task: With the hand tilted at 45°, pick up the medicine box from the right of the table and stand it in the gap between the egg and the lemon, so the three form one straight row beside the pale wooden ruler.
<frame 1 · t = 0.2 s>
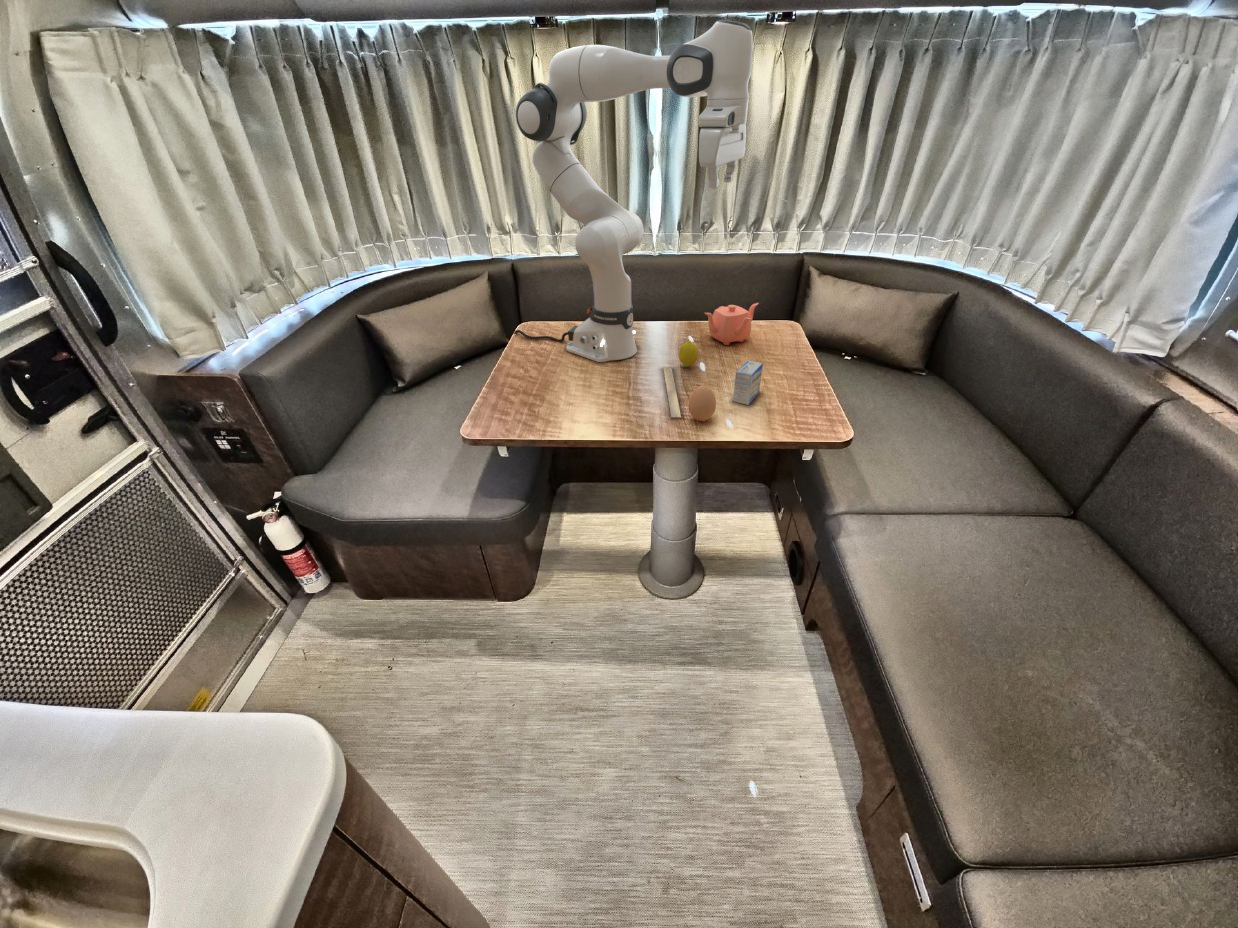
hand: (721, 185, 125), 48 cm above the table, tool pointing down, fingers open, 8 cm apart
medicine box: (745, 398, 140), on the table
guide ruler: (671, 391, 143), on the table
lemon: (687, 367, 156), on the table
teapot: (731, 341, 171), on the table
egg: (700, 420, 131), on the table
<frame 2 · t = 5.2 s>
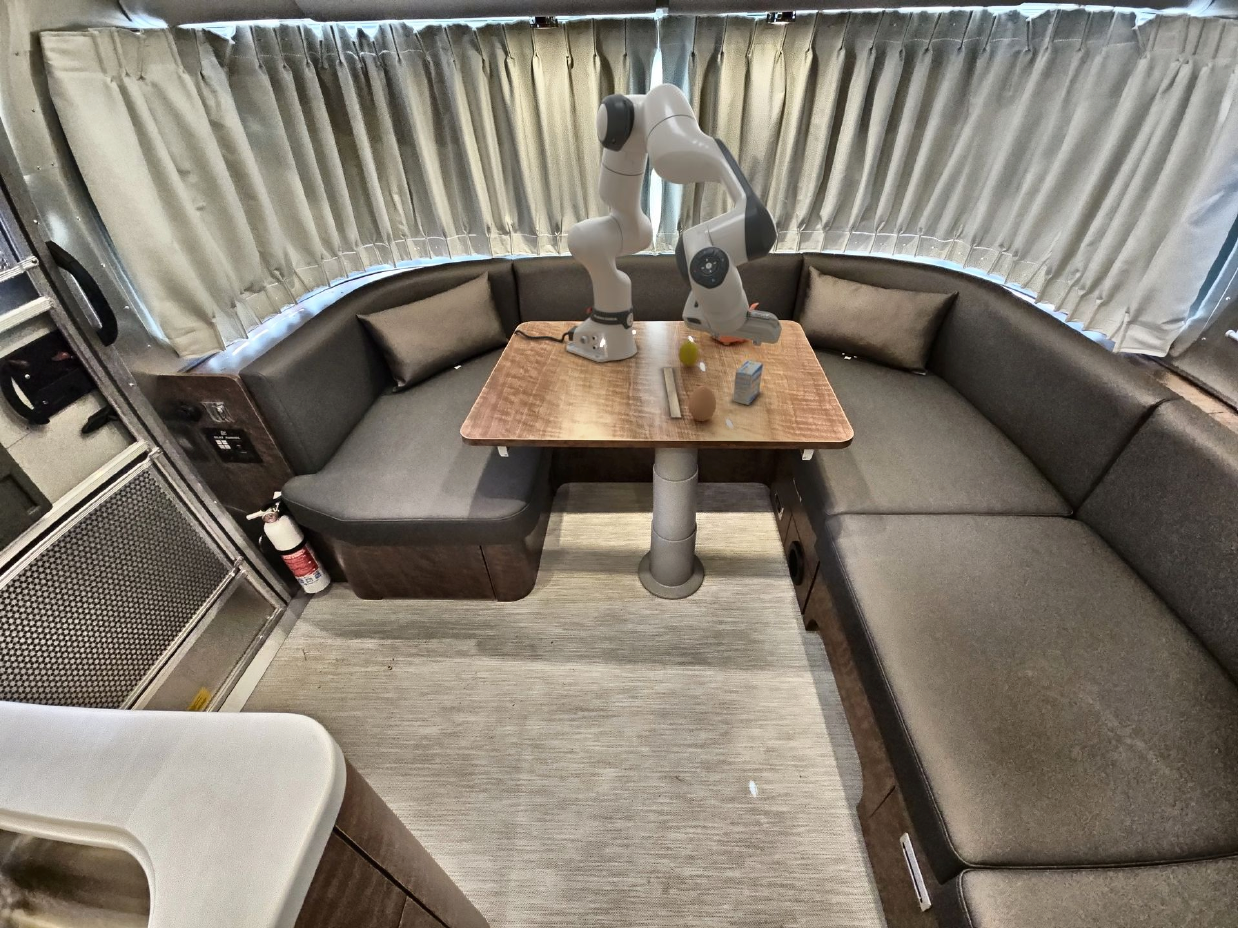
hand: (737, 339, 118), 21 cm above the table, tool tilted 45°, fingers open, 8 cm apart
nothing on the table moved.
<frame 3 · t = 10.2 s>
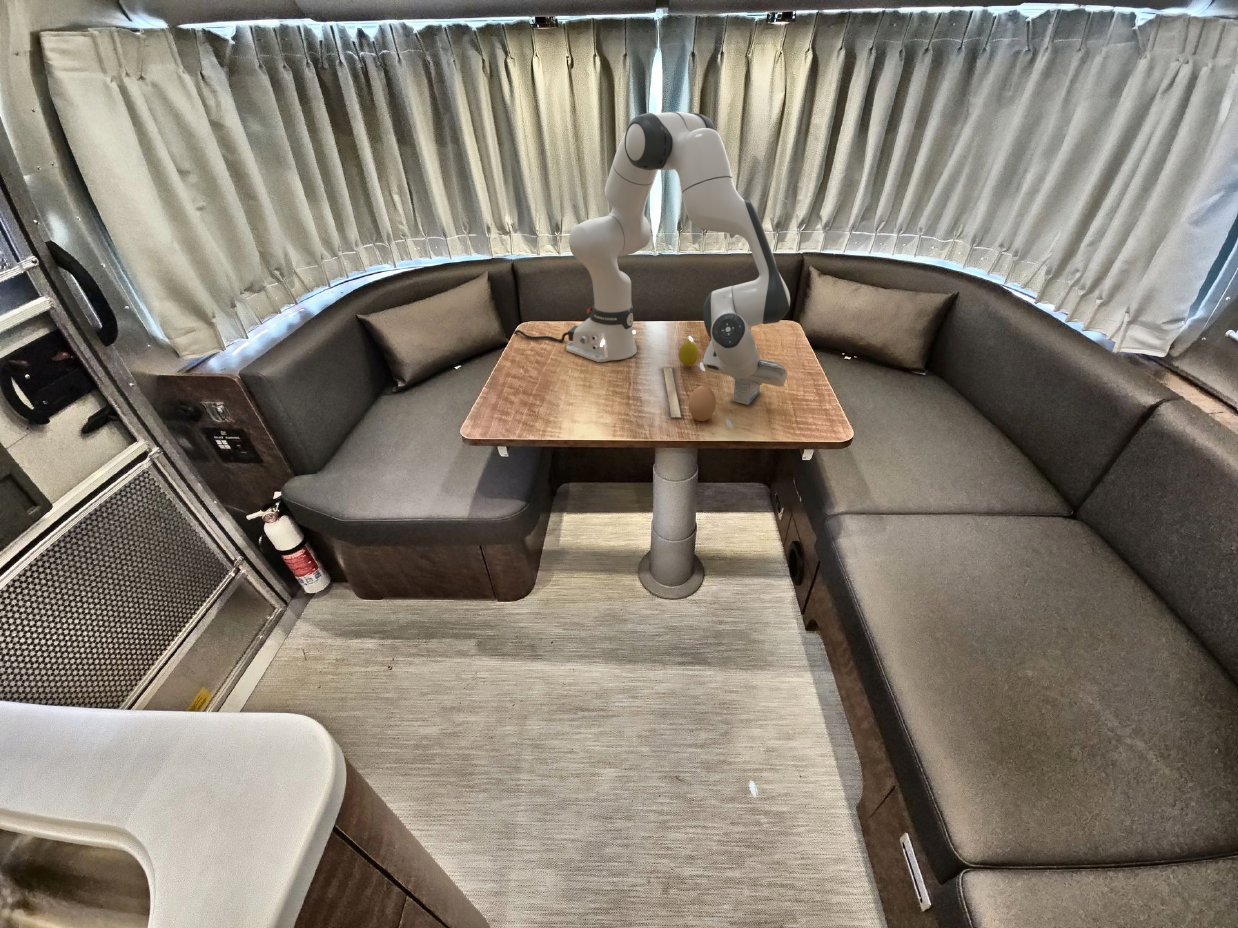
hand: (748, 379, 137), 5 cm above the table, tool tilted 45°, fingers closed on medicine box, 4 cm apart
medicine box: (745, 398, 140), on the table, touching gripper
everything else where it was.
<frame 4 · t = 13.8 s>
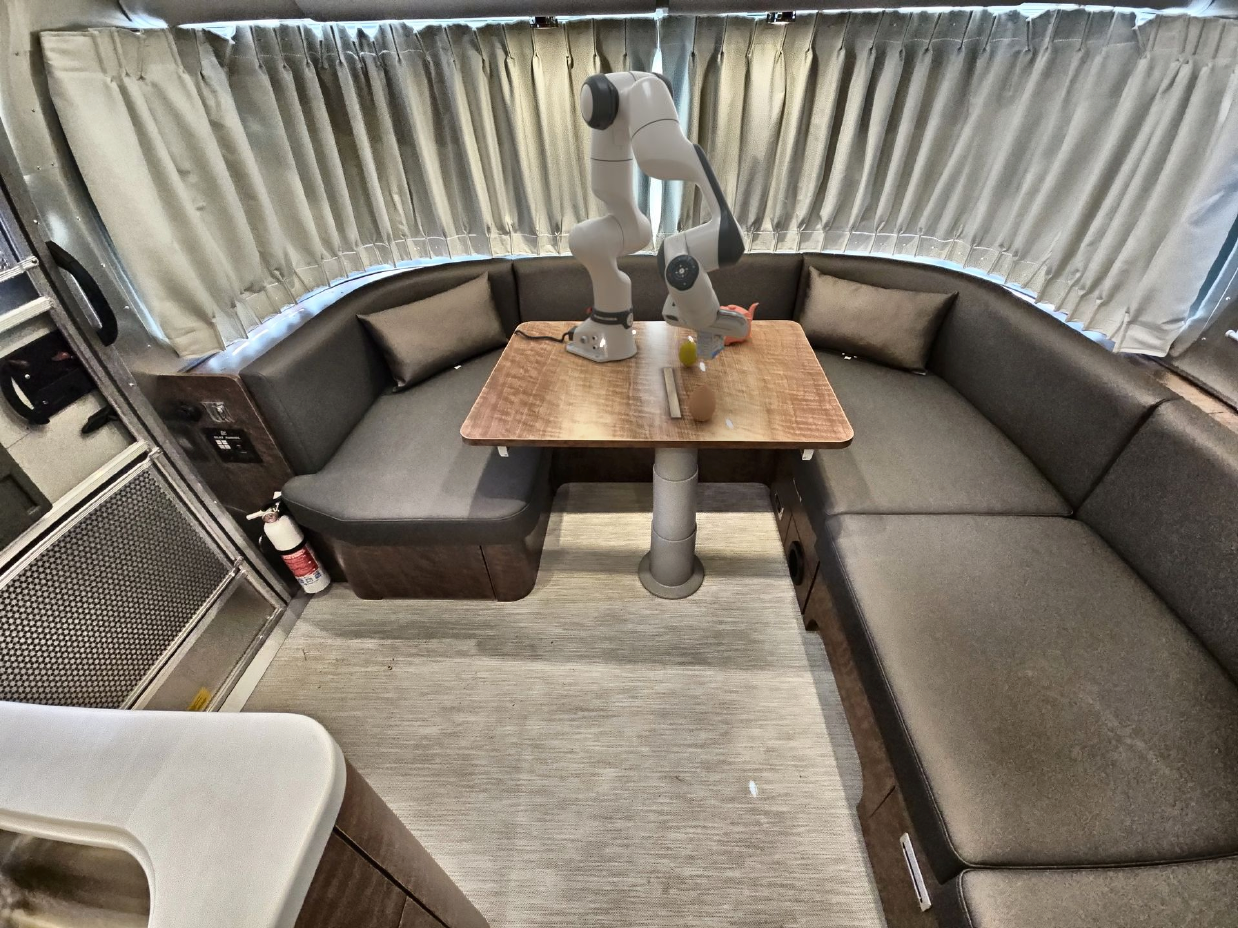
hand: (711, 334, 134), 16 cm above the table, tool tilted 45°, fingers closed on medicine box, 4 cm apart
medicine box: (709, 354, 136), point 11 cm above the table, touching gripper
everything else where it was.
when the fingers open (5 cm above the table, at t = 17.7 s): medicine box stays where it is, on the table.
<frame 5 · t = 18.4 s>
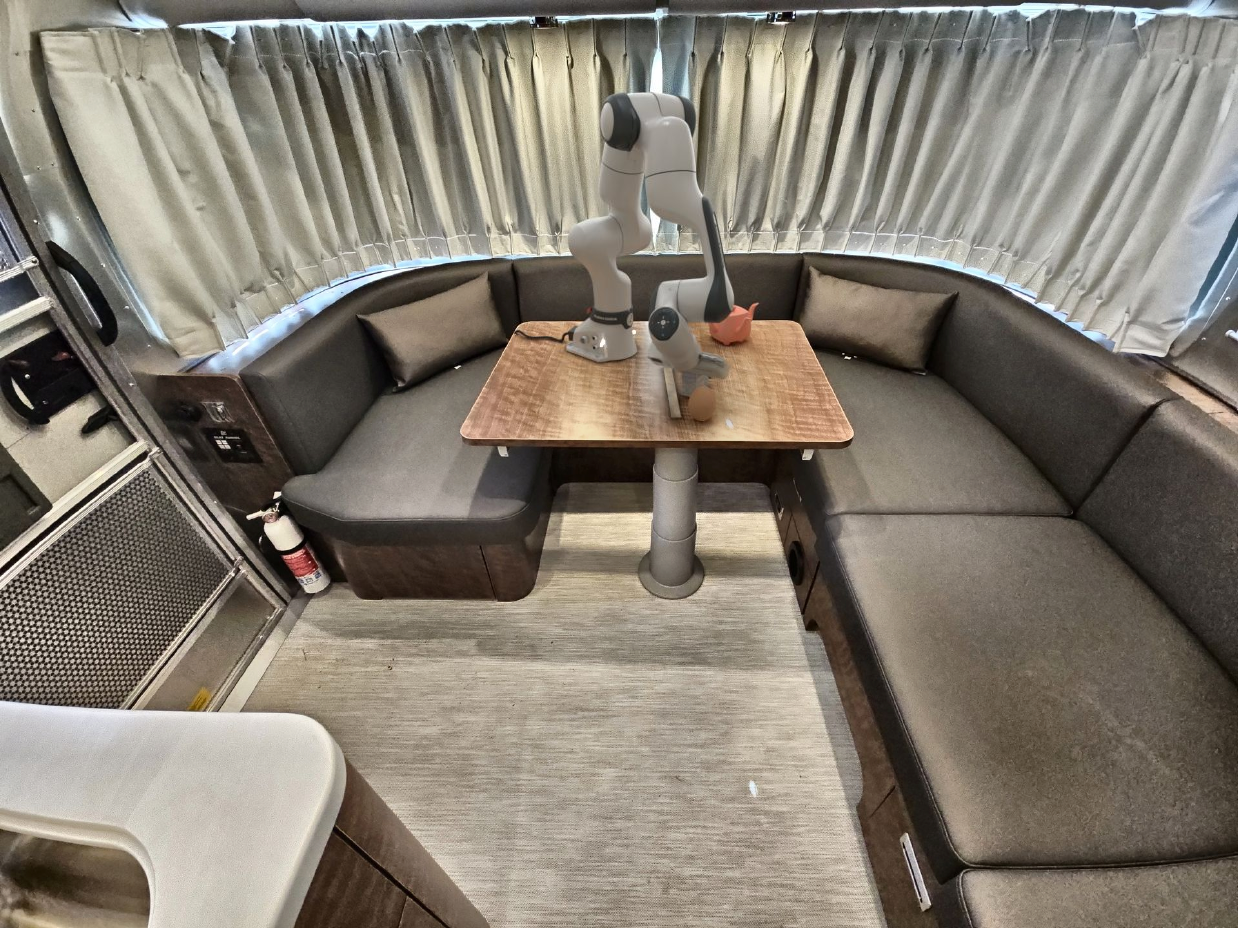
hand: (695, 373, 141), 5 cm above the table, tool tilted 45°, fingers open, 8 cm apart
medicine box: (694, 391, 143), on the table
everything else where it was.
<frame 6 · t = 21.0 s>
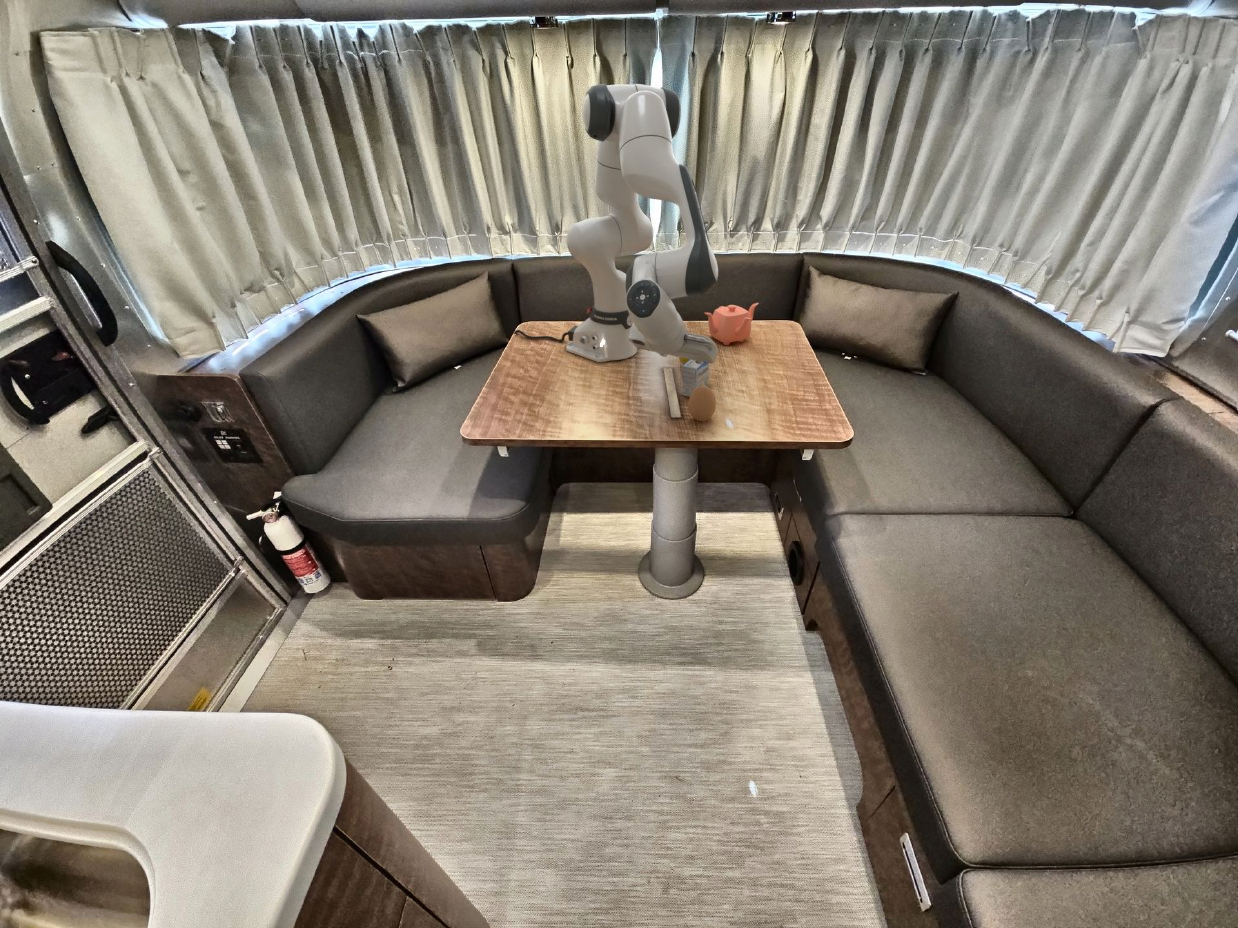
hand: (682, 357, 129), 13 cm above the table, tool tilted 45°, fingers open, 8 cm apart
nothing on the table moved.
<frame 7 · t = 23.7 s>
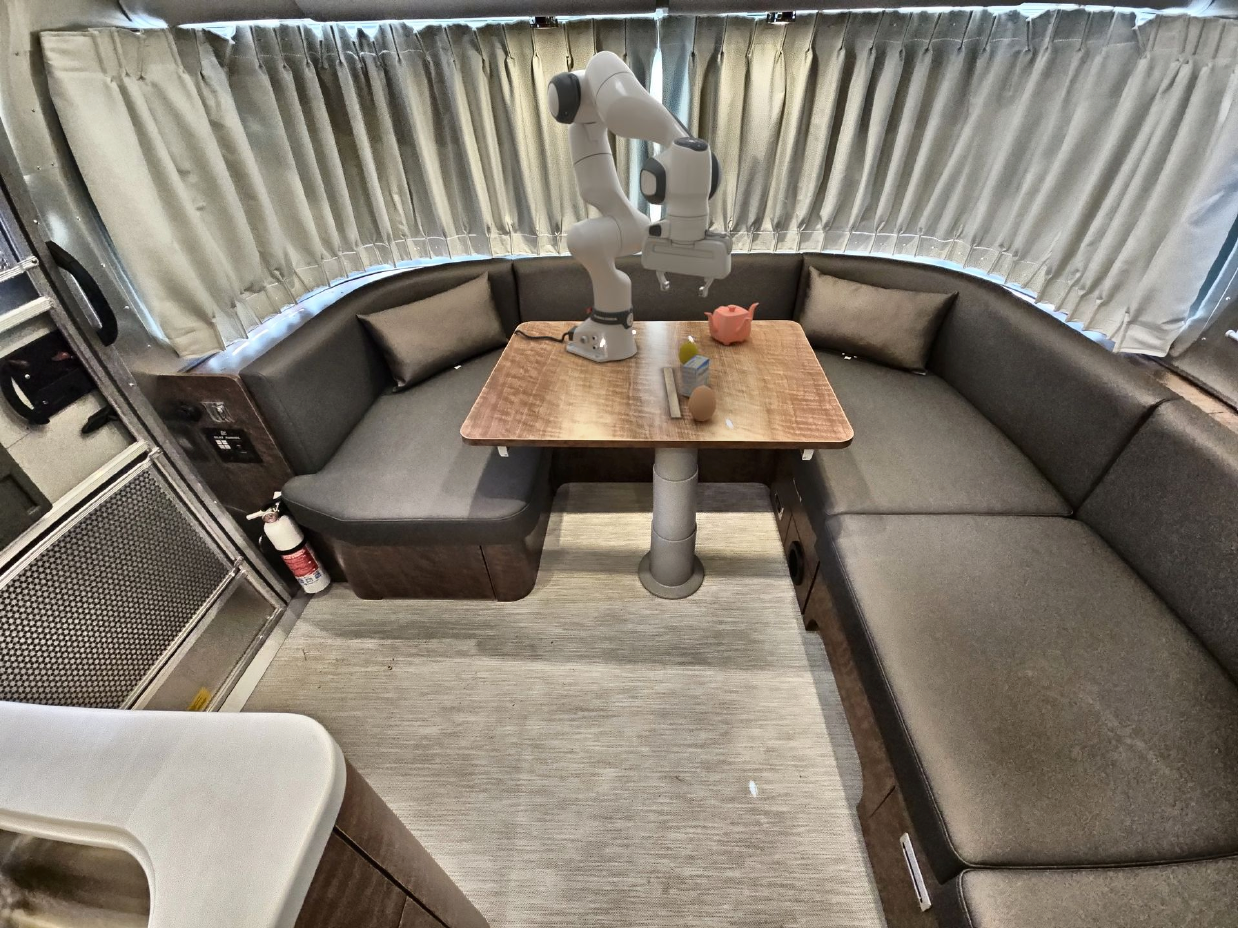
hand: (683, 293, 121), 29 cm above the table, tool pointing down, fingers open, 8 cm apart
nothing on the table moved.
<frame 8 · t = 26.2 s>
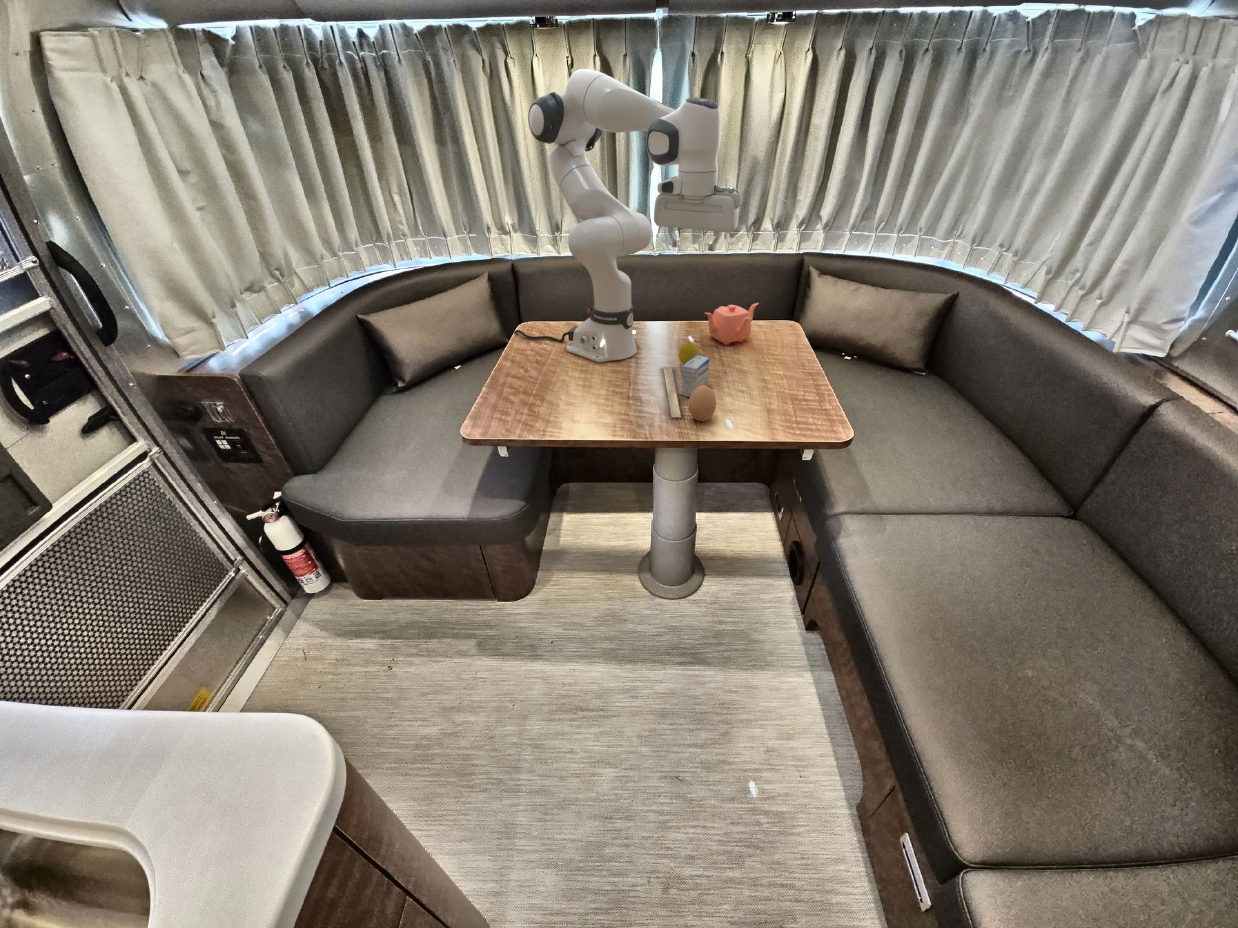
hand: (693, 248, 128), 35 cm above the table, tool pointing down, fingers open, 8 cm apart
nothing on the table moved.
at the end: medicine box 0.1 cm from the target spot on the table beside the egg, on the table; medicine box 0.1 cm from the target spot on the table beside the lemon, on the table; medicine box tilted 0° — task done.
